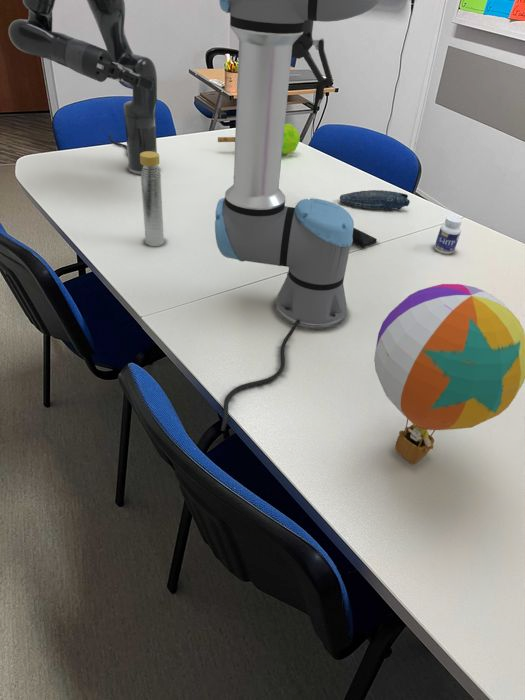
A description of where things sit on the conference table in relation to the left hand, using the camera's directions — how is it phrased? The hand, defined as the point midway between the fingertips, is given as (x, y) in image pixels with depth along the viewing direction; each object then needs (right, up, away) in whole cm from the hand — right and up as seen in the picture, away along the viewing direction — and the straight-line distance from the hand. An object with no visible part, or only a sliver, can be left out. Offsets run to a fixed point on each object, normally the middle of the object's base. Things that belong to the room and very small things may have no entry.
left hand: (146, 84), depth 132 cm
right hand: (+36, -5, +3) cm, 37 cm away
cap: (+4, -23, -13) cm, 27 cm away
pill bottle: (+79, -40, +9) cm, 89 cm away
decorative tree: (+28, +4, +59) cm, 65 cm away
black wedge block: (+53, -37, +10) cm, 66 cm away
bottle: (+2, -40, 0) cm, 40 cm away
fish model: (+64, -23, +29) cm, 73 cm away
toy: (+53, -84, -49) cm, 111 cm away
